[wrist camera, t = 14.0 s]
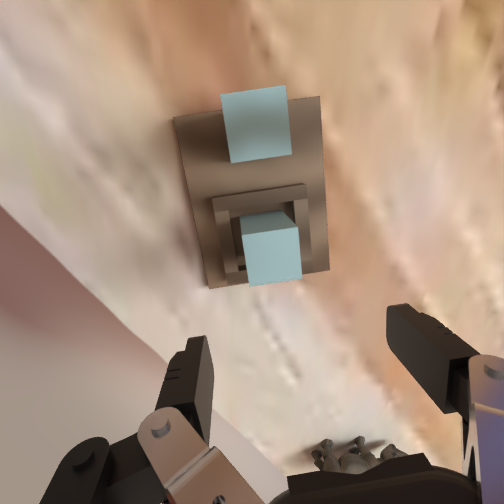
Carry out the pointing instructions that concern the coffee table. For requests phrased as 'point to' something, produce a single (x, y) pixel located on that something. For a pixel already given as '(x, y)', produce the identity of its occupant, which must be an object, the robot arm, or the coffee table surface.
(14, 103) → the coffee table surface
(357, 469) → the rhino figurine
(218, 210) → the walnut board
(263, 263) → the teal block
